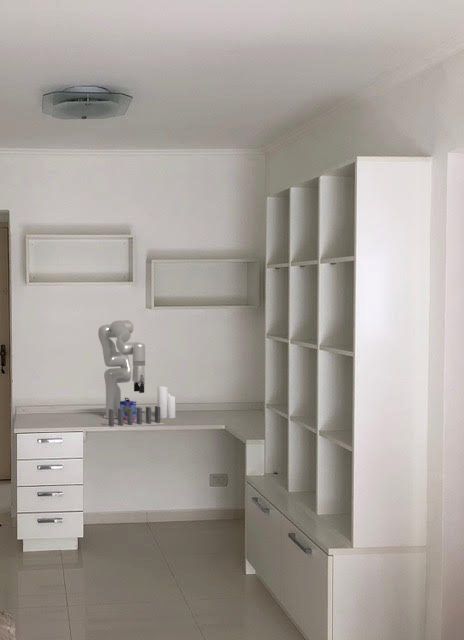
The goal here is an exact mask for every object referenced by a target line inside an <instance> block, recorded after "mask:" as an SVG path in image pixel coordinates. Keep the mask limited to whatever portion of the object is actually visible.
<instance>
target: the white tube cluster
mask: <svg viewBox="0 0 464 640" xmlns="http://www.w3.org/2000/svg"><path fill="white" fill-rule="evenodd" d="M168 390H169V387H168V386H164V385H163V386H160V385H159V386H157V406H159V407H160V419H167V418H168V419H176V396H175V395H172V393H171V392H169V391H168Z"/></svg>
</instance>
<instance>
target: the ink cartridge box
mask: <svg viewBox="0 0 464 640" xmlns="http://www.w3.org/2000/svg"><path fill="white" fill-rule="evenodd" d="M120 408H121V409H123V421H127V408H132V409H133V422H134V421H137V401H136V400H135V401H134V400H130V398H129V397H124V400H121V401H120Z"/></svg>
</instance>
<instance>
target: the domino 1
mask: <svg viewBox="0 0 464 640" xmlns="http://www.w3.org/2000/svg"><path fill="white" fill-rule="evenodd" d="M114 424H115V418H114V410H113V409H109V418H108V425H109V426H111V427H113V426H114ZM113 428H114V427H113Z"/></svg>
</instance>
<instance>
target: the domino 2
mask: <svg viewBox="0 0 464 640" xmlns="http://www.w3.org/2000/svg"><path fill="white" fill-rule="evenodd" d="M117 424H118V425H120V426H123V424H124V420H123V409H121V408H118V418H117Z"/></svg>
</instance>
